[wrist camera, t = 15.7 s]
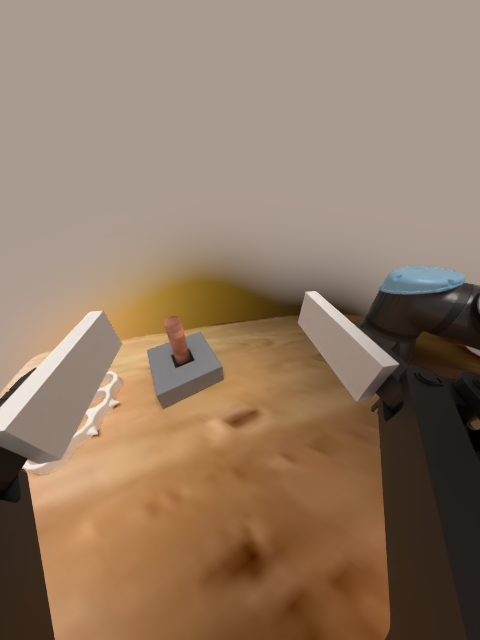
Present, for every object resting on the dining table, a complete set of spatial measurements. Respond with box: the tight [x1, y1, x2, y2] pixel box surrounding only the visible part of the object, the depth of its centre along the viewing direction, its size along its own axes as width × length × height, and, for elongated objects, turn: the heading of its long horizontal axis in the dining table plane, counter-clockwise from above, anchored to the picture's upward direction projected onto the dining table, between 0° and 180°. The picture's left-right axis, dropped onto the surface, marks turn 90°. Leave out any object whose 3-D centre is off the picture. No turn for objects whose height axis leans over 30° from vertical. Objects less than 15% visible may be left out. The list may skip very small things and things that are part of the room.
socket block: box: [147, 332, 223, 409], centre depth 43 cm, size 14×14×5 cm
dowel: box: [164, 316, 191, 367], centre depth 39 cm, size 3×3×16 cm
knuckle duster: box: [23, 371, 123, 475], centre depth 34 cm, size 3×18×15 cm
